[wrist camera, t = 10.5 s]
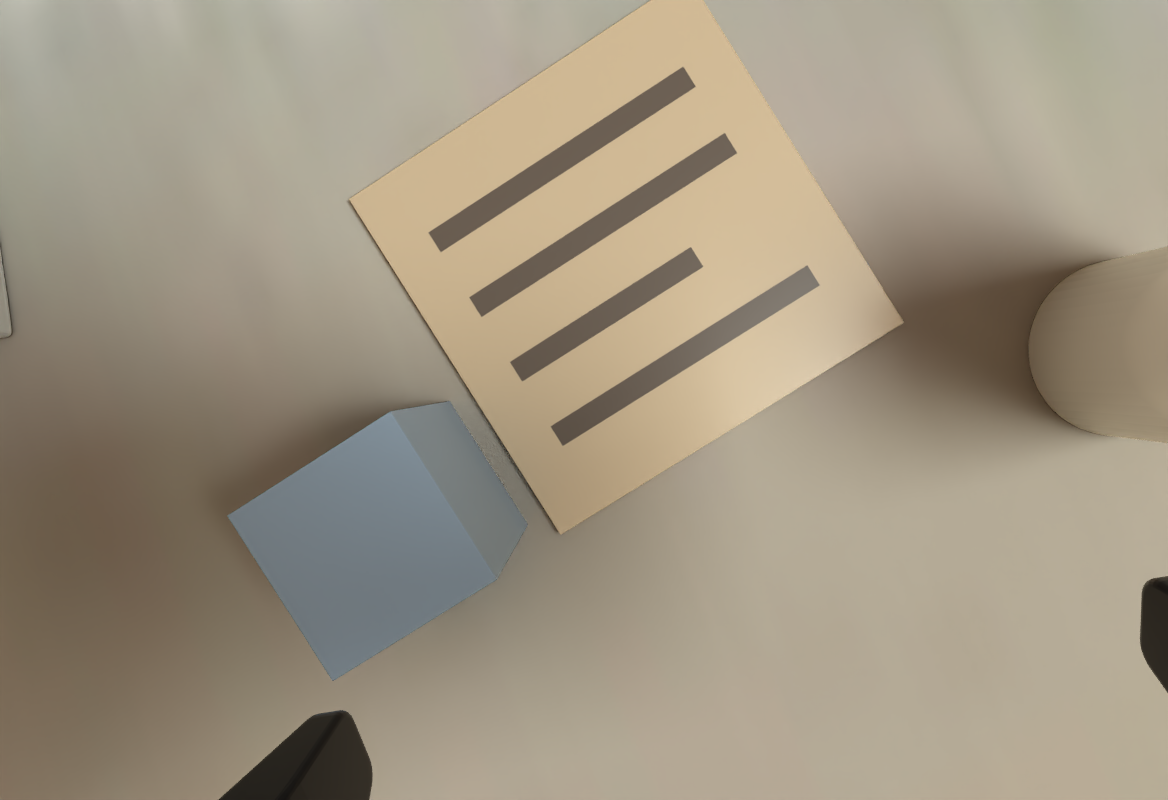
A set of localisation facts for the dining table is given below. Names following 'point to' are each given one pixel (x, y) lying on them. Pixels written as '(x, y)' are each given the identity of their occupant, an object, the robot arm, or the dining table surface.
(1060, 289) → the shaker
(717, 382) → the letter card
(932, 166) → the dining table surface
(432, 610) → the blue block
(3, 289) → the supplement box
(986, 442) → the dining table surface
